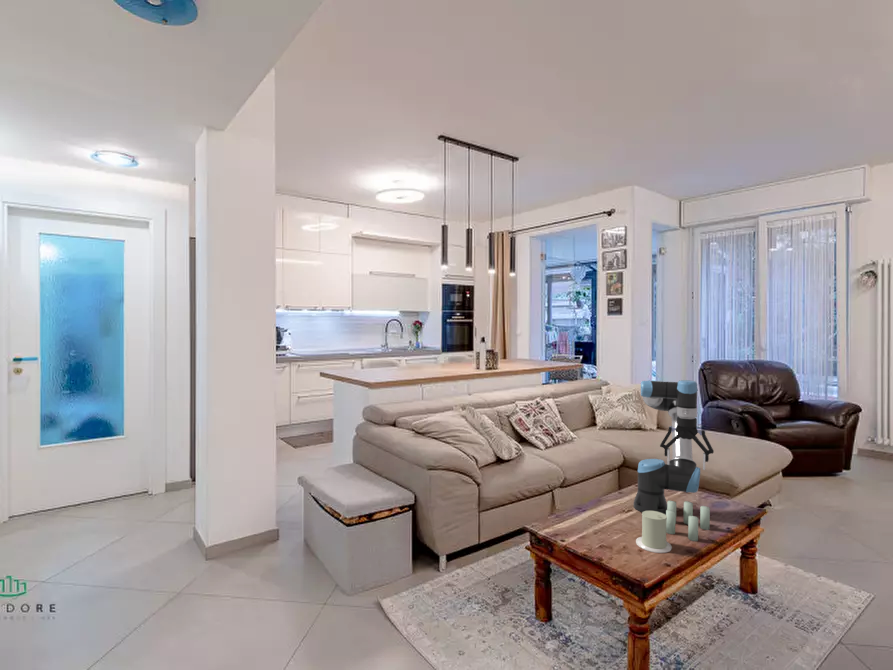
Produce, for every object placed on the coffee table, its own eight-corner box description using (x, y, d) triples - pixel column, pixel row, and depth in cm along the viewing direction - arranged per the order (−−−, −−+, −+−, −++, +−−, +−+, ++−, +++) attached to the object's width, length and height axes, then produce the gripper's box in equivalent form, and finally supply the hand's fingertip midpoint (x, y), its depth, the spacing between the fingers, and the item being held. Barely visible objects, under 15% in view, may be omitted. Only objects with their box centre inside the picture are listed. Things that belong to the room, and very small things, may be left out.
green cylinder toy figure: (655, 550, 180) (656, 519, 180) (636, 541, 188) (636, 511, 188) (671, 546, 184) (672, 515, 184) (652, 536, 192) (652, 507, 192)
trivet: (634, 548, 183) (634, 546, 183) (637, 535, 195) (637, 533, 195) (670, 555, 177) (670, 554, 177) (672, 542, 189) (672, 540, 189)
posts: (665, 535, 195) (665, 514, 194) (667, 517, 213) (667, 498, 213) (710, 544, 187) (711, 522, 187) (709, 525, 205) (709, 504, 205)
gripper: (653, 415, 201) (653, 464, 202) (720, 422, 189) (719, 473, 190) (655, 412, 208) (655, 459, 209) (720, 418, 195) (719, 468, 196)
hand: (685, 466), depth 199 cm, fingers open, 13 cm apart
